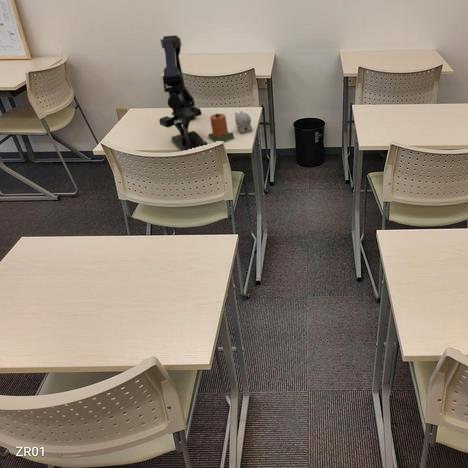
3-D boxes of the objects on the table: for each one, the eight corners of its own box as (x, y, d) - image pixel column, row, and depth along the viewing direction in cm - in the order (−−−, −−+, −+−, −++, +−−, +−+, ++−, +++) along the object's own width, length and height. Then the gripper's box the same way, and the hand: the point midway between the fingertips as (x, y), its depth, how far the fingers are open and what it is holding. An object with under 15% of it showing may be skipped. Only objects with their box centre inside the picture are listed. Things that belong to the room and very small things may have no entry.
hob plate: (176, 142, 213) (176, 141, 213) (199, 136, 218) (199, 135, 217) (185, 150, 206) (184, 149, 206) (208, 144, 210) (208, 143, 210)
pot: (210, 134, 219) (206, 114, 213) (223, 129, 222) (220, 110, 217) (217, 138, 215) (214, 118, 209) (230, 134, 218) (227, 114, 212)
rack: (208, 137, 220) (207, 131, 219) (223, 132, 224) (222, 126, 223) (218, 143, 215) (217, 137, 213) (233, 138, 219) (233, 132, 217)
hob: (170, 139, 221) (169, 135, 220) (193, 133, 225) (192, 129, 224) (185, 155, 207) (184, 150, 206) (209, 148, 211) (208, 144, 210)
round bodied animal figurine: (245, 123, 233) (243, 106, 228) (254, 131, 224) (252, 114, 219) (231, 126, 230) (229, 109, 225) (239, 135, 221) (237, 117, 216)
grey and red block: (180, 134, 220) (178, 126, 217) (183, 133, 221) (181, 125, 218) (186, 137, 217) (184, 129, 214) (189, 136, 218) (187, 128, 215)
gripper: (169, 112, 199) (177, 146, 208) (205, 98, 210) (211, 132, 219) (155, 106, 206) (163, 139, 215) (190, 93, 216) (197, 126, 226)
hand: (184, 134), depth 218 cm, fingers closed on grey and red block, 2 cm apart
